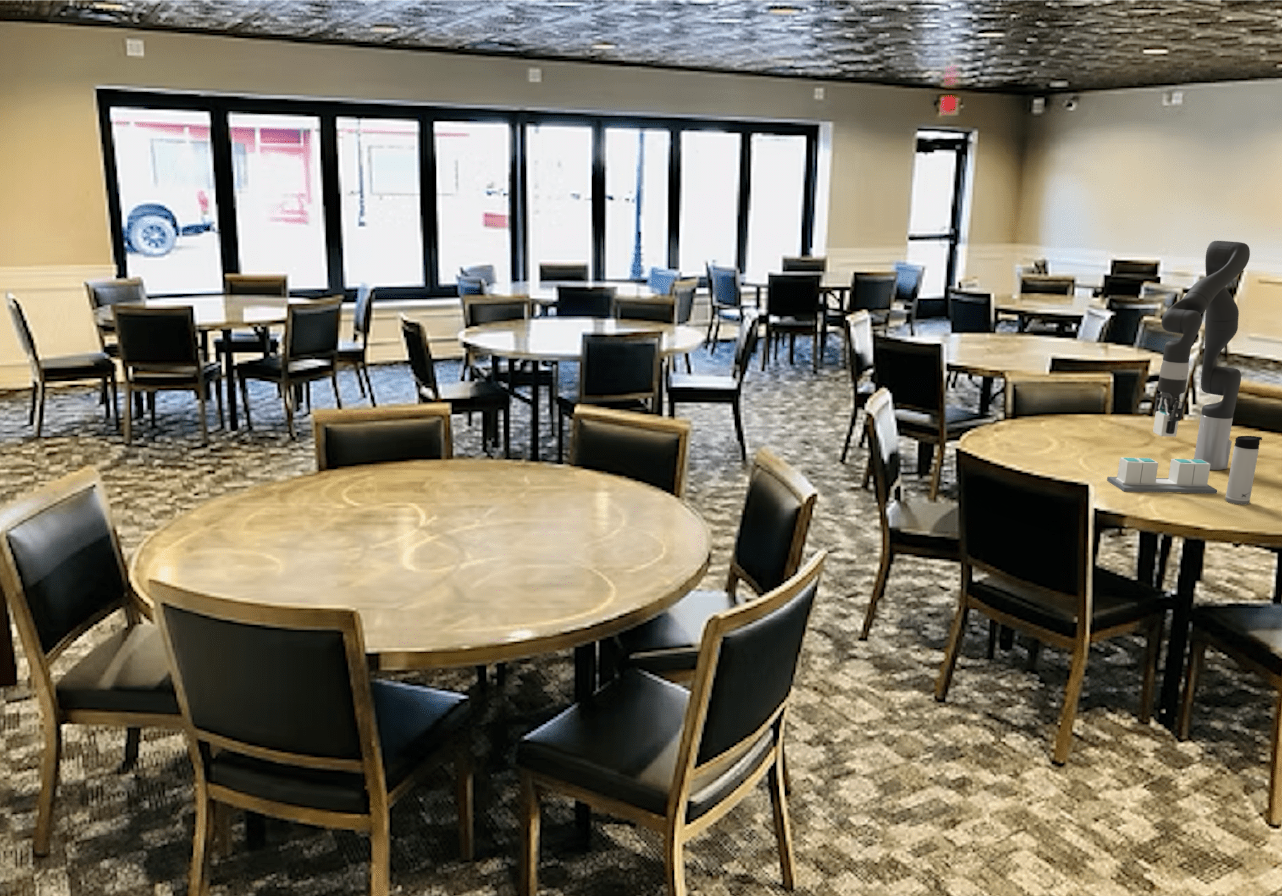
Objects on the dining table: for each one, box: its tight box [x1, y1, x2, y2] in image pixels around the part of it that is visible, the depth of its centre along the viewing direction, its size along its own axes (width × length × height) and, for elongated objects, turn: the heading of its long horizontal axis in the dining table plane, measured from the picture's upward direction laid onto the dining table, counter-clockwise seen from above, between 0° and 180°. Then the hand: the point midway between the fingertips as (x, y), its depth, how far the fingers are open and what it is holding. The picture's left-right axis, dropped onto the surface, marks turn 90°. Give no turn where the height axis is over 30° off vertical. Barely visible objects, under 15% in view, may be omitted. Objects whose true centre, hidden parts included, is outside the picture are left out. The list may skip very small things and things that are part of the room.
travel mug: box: [1224, 435, 1263, 506], centre depth 307 cm, size 6×7×20 cm
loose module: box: [1152, 411, 1179, 438], centre depth 319 cm, size 4×6×7 cm
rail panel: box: [1106, 457, 1218, 495], centre depth 322 cm, size 28×12×8 cm, turn 90°
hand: (1165, 430), depth 320 cm, fingers closed on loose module, 5 cm apart
